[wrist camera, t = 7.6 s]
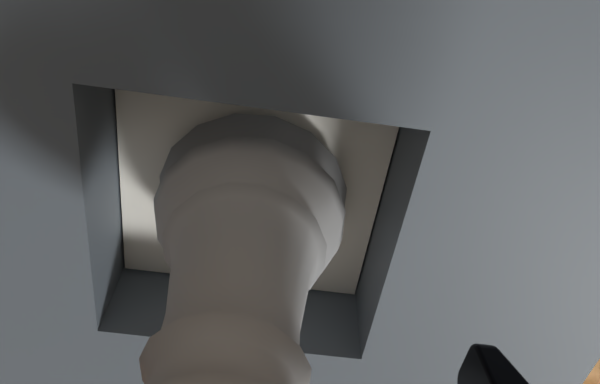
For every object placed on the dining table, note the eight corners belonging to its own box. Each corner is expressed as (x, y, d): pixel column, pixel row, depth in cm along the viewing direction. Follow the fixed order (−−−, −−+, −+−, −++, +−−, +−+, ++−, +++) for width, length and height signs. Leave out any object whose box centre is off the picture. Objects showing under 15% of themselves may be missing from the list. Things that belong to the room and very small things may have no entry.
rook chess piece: (153, 235, 15) (22, 585, 8) (176, 81, 12) (13, 404, 6) (317, 270, 15) (321, 622, 9) (370, 129, 13) (433, 473, 6)
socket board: (727, -13, 11) (822, 28, 9) (515, 370, 18) (542, 443, 16) (-217, -158, 10) (-354, -149, 8) (-63, 307, 17) (-116, 377, 15)
